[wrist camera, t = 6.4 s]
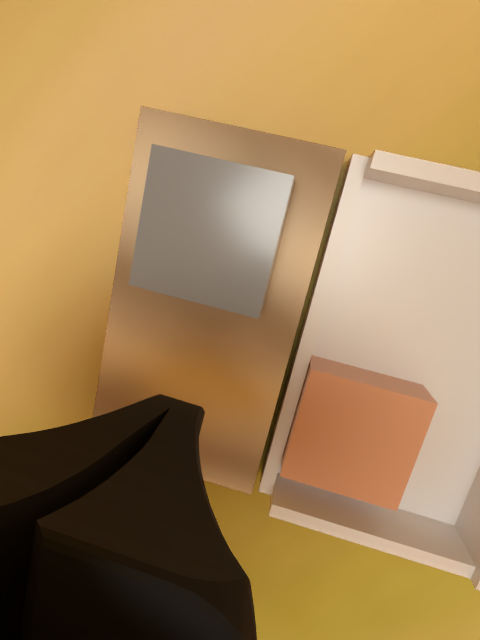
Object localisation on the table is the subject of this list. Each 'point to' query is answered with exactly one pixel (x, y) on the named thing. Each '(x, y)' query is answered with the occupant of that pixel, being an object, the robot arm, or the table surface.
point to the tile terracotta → (357, 432)
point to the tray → (399, 352)
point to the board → (209, 322)
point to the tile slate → (210, 230)
